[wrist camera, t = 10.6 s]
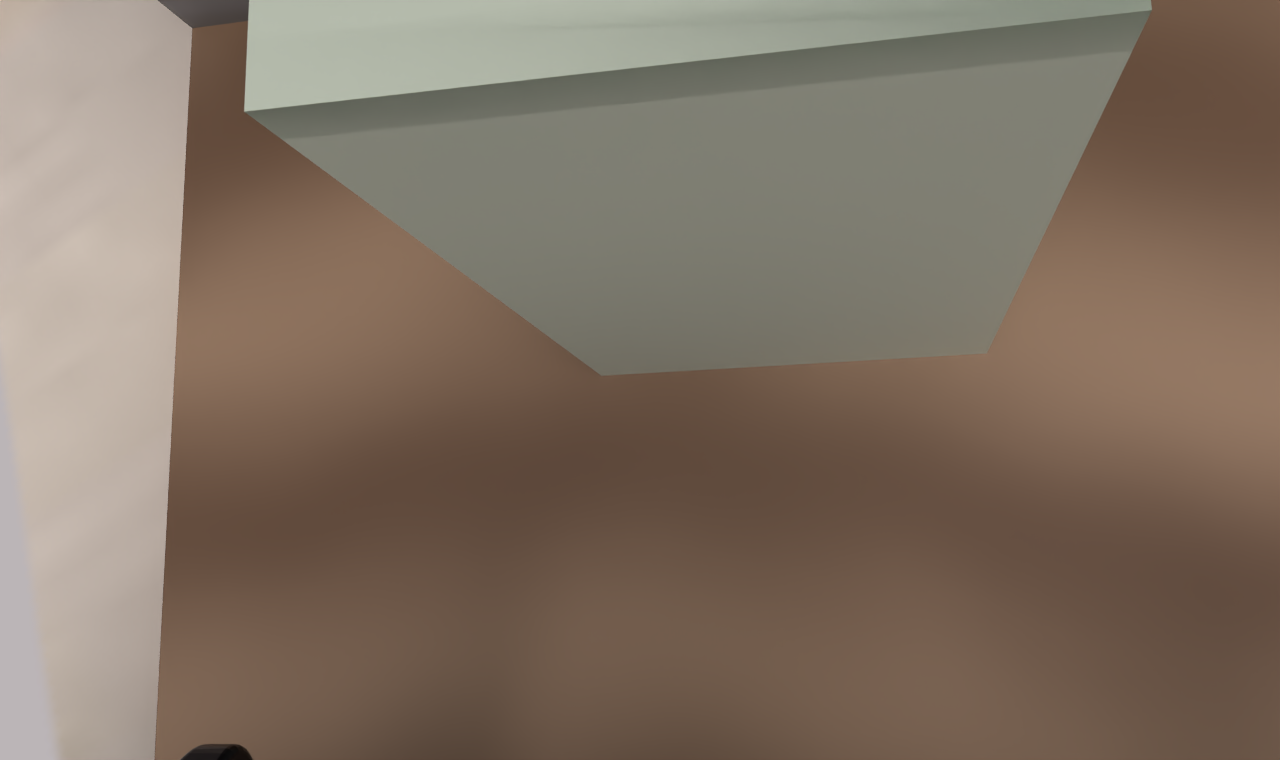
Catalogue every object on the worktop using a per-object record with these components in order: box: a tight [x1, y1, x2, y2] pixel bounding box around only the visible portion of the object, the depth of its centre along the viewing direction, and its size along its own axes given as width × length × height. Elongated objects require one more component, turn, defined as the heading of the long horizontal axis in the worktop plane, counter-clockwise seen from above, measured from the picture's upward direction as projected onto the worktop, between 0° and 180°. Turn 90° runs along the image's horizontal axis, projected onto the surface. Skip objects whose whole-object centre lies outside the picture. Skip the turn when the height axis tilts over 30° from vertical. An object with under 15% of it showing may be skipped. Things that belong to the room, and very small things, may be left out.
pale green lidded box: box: [244, 0, 1152, 376], centre depth 12 cm, size 6×6×10 cm
